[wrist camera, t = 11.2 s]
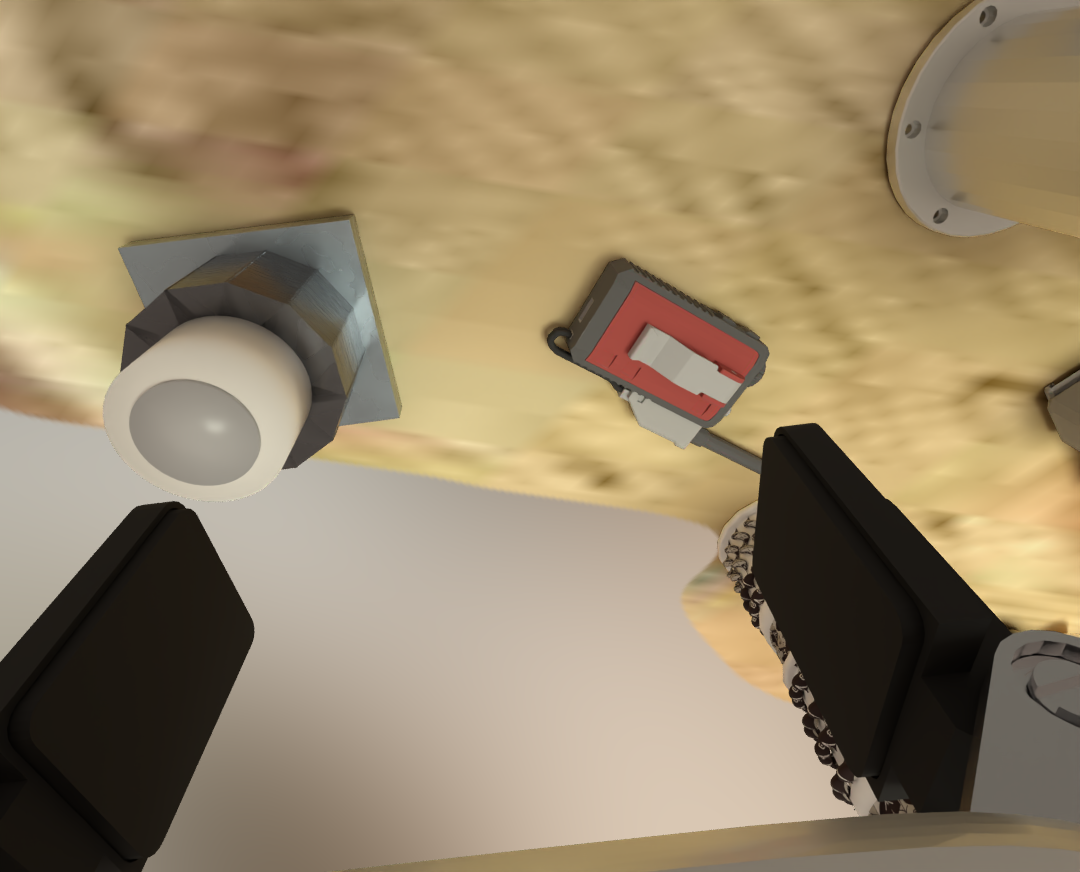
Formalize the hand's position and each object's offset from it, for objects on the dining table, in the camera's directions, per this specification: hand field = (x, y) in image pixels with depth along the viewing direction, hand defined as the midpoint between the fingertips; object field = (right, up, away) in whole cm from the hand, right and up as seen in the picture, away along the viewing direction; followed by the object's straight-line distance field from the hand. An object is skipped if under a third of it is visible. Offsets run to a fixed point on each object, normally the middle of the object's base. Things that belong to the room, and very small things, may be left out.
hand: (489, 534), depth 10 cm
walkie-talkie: (+11, +6, +30) cm, 32 cm away
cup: (-14, +6, +22) cm, 26 cm away
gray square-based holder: (-15, +8, +25) cm, 30 cm away
